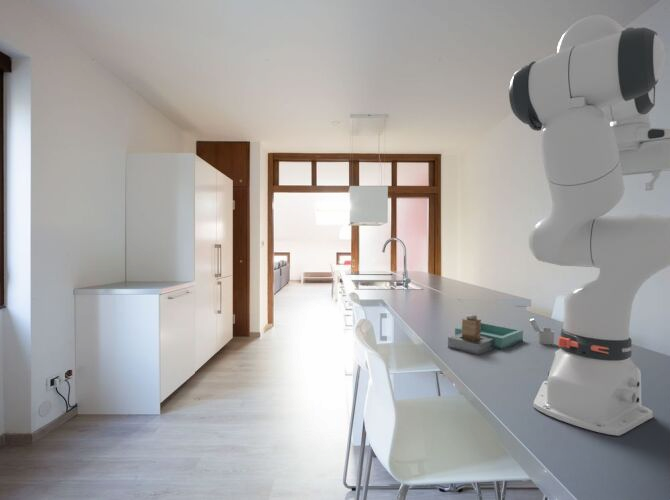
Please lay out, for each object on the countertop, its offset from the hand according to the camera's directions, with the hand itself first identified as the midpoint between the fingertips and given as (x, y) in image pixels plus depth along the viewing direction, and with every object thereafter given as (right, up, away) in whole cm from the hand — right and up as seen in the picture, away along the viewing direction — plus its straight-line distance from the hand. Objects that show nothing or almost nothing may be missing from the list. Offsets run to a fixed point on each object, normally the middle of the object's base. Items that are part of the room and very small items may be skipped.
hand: (625, 191), depth 93 cm
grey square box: (-35, -46, +17) cm, 60 cm away
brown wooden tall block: (-35, -46, +17) cm, 60 cm away
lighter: (-9, -47, +23) cm, 53 cm away
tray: (-25, -46, +27) cm, 59 cm away
